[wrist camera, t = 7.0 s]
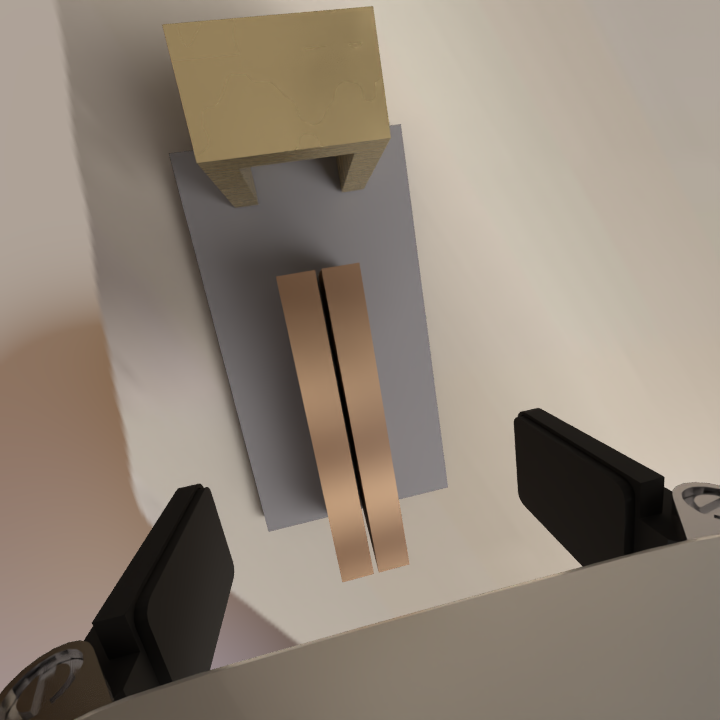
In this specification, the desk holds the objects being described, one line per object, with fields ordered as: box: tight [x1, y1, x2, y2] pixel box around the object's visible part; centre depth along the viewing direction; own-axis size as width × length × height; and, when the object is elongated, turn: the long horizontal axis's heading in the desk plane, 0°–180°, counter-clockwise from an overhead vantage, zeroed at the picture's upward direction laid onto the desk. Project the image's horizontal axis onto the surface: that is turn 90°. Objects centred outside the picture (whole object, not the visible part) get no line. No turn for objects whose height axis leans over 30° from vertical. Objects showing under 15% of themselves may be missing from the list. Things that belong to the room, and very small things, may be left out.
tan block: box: [162, 6, 391, 208], centre depth 15 cm, size 4×7×6 cm, turn 100°
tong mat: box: [169, 124, 448, 531], centre depth 21 cm, size 22×12×1 cm, turn 10°
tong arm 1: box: [318, 263, 409, 572], centre depth 18 cm, size 15×2×5 cm, turn 10°
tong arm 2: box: [276, 270, 374, 582], centre depth 18 cm, size 15×2×5 cm, turn 10°
